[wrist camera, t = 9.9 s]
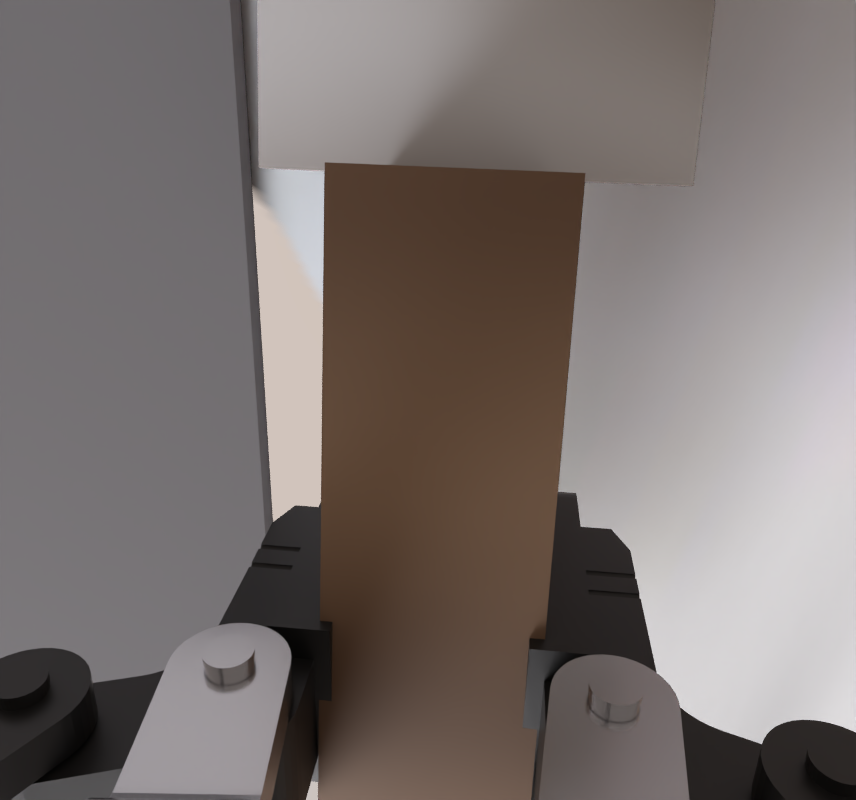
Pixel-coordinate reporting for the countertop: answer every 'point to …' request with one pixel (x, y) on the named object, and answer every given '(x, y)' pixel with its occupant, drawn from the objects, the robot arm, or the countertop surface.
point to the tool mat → (126, 329)
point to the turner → (455, 338)
